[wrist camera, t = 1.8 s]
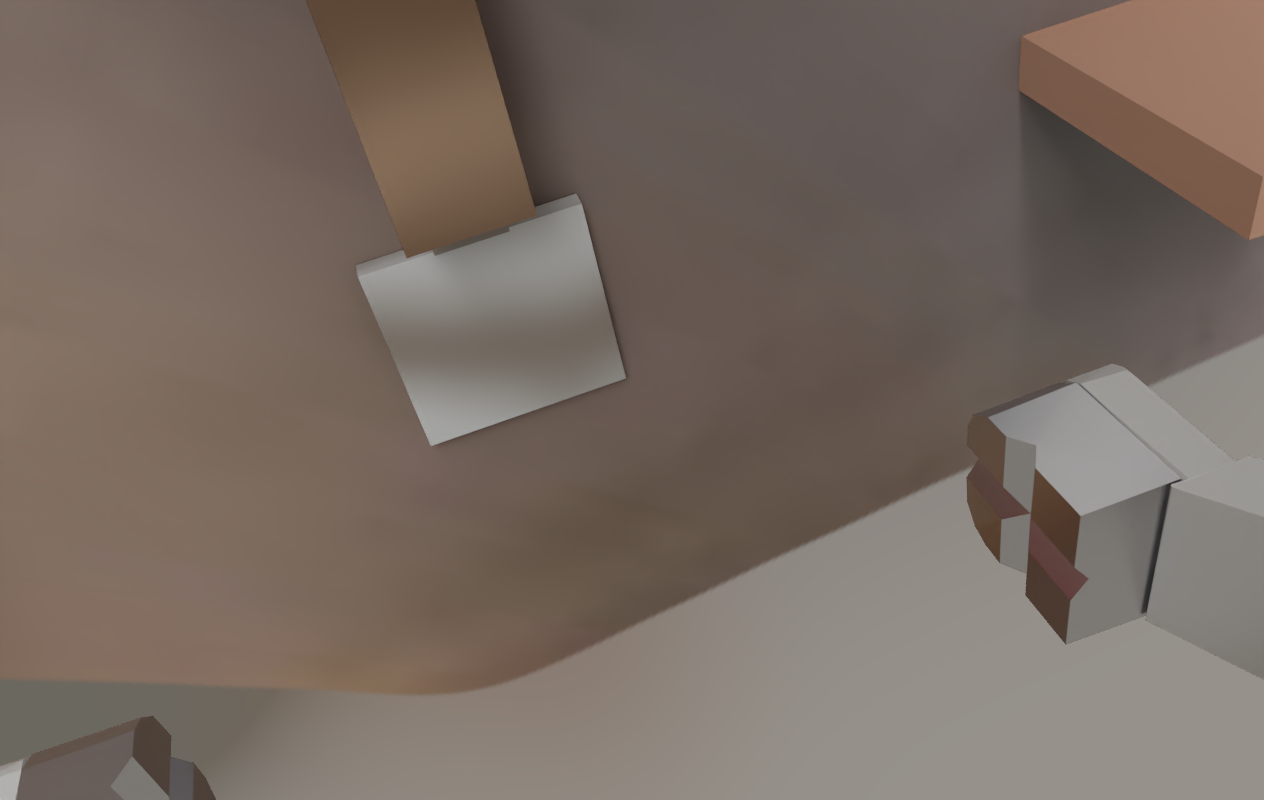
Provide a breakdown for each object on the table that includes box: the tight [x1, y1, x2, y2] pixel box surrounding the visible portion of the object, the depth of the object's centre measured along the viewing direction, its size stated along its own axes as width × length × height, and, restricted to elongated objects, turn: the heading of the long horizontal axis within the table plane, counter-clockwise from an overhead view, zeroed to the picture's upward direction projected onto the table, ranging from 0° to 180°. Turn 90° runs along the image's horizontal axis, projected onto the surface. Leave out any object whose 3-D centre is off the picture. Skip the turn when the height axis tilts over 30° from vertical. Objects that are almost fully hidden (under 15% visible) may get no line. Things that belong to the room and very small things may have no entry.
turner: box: [306, 0, 626, 446], centre depth 24 cm, size 19×6×4 cm, turn 12°
